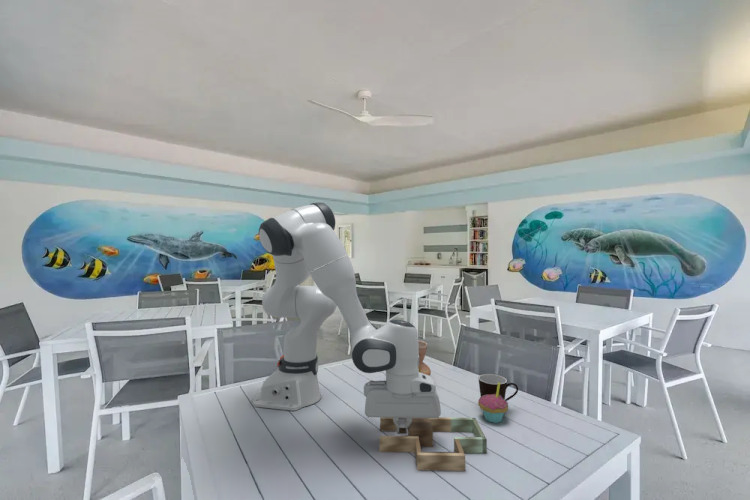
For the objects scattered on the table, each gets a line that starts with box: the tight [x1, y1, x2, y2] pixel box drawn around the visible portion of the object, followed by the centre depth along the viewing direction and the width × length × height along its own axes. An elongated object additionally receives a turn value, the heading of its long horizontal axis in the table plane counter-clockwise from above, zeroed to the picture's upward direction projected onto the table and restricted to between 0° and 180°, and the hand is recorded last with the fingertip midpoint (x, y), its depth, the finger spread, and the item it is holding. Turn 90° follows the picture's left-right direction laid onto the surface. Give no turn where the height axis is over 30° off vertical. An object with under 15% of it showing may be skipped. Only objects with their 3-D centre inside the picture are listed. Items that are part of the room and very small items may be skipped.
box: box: [378, 416, 488, 472], centre depth 92 cm, size 27×25×4 cm
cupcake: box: [477, 381, 509, 424], centre depth 103 cm, size 9×8×12 cm
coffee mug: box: [477, 373, 519, 402], centre depth 108 cm, size 12×9×10 cm
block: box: [407, 418, 434, 448], centre depth 91 cm, size 6×6×4 cm
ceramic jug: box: [418, 339, 432, 376], centre depth 135 cm, size 18×14×14 cm
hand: (402, 432), depth 91 cm, fingers closed
